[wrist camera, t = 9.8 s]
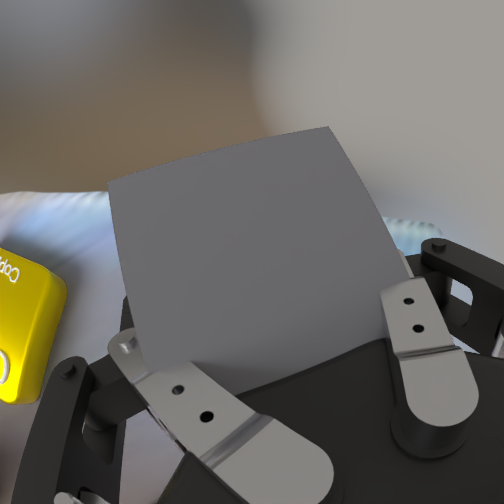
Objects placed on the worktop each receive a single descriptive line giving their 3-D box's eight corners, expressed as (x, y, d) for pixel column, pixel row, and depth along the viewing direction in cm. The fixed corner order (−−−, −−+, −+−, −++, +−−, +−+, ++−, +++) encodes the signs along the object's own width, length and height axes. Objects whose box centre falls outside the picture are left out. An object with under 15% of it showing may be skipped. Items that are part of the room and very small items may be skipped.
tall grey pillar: (208, 399, 15) (171, 440, 5) (172, 286, 17) (107, 182, 7) (322, 358, 16) (433, 333, 6) (280, 252, 18) (328, 126, 8)
